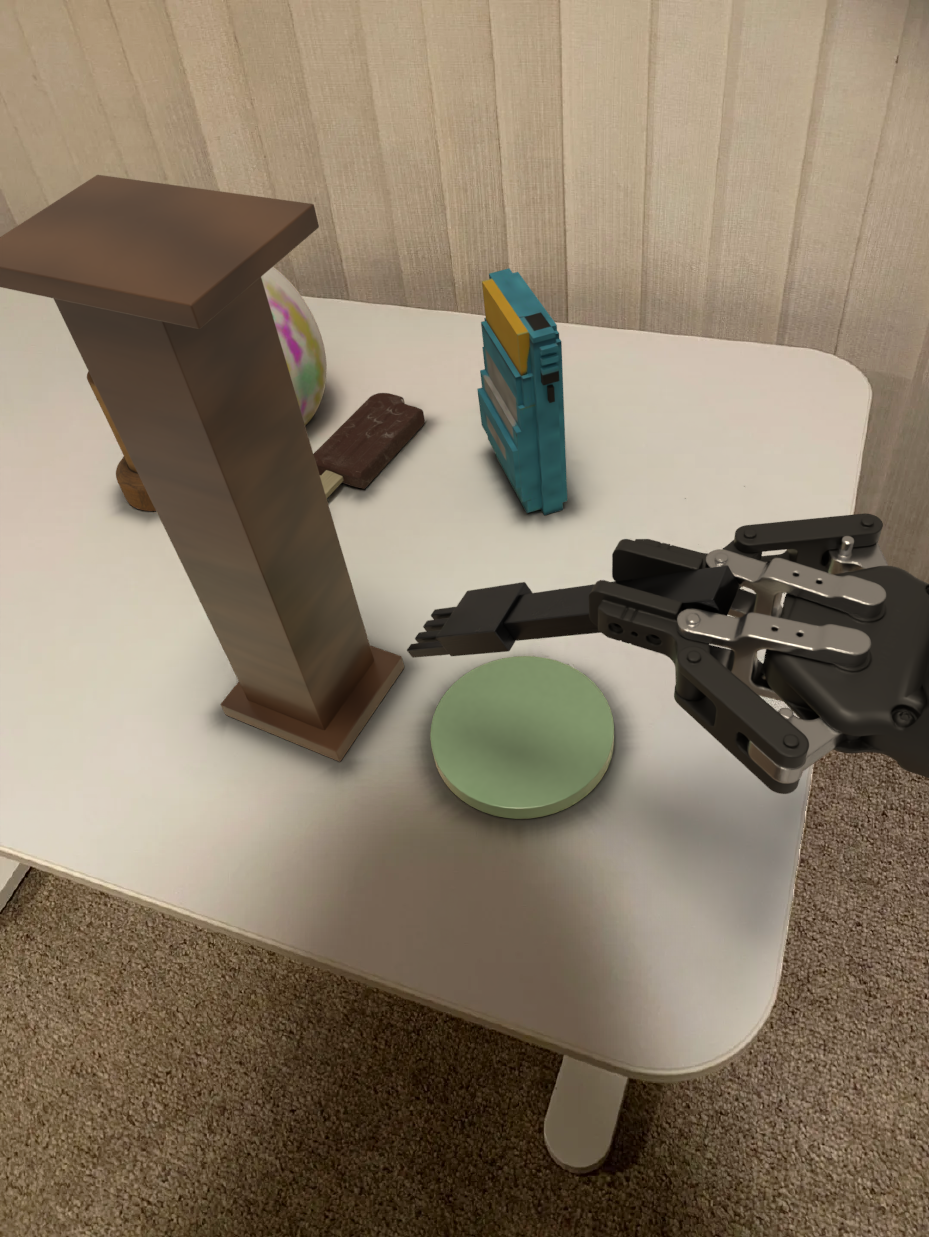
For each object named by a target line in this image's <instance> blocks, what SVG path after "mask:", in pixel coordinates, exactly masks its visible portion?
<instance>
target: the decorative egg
mask: <svg viewBox="0 0 929 1237" xmlns="http://www.w3.org/2000/svg"><path fill="white" fill-rule="evenodd" d="M261 278H262V282H263V285H264V288H265V292H266V295H267V299H268V302H269V305H270V309H271V312H272V315H273V319H274V322H275V326H276V329H277V332H278V336H279V339H280V343H281V346H282V349H283V353H284V356H285V359H286V363H287V366H288V370H289V373H290V376H291V380H292V383H293V387H294V390H295V393H296V397H297V400H298V403H299V407H300V410H301V414H302V417H303V420H304V424H305V426H307V424H308V423H309V422H310V421H311V420H312V419H313V418H314V417H315V414H316V412H317V411H318V409H319V407H320V404H321V402H322V400H323V396H324V394H325V390H326V383H327V374H328V372H327V371H328V370H327V369H328V368H327V355H326V349H325V344H324V341H323V337H322V333H321V331H320V328H319V325H318V322H317V321H316V318H315V317H314V315H313V313H312V310H311V309H310V307H309V306H308V304H307V302H306V301H305V299H304V298H303V296H302V295H301V293H300V292H299V291H298V290H297V288H296V287H295V286H294V285H293V283H292V282H291V281H290V280H289V279H288V278H287V277H286V276H285V275H284V274H283V273H281V271H280V270H278V269H277V268H275V266H273V267H272V268H271V269H270V270H268V271H267V272H266V273H265V274H264V275H263V276H261Z"/></svg>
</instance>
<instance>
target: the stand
mask: <svg viewBox="0 0 929 1237" xmlns="http://www.w3.org/2000/svg"><path fill="white" fill-rule="evenodd" d="M319 227H320V225H319V221H318V216H317V212H316V208H315V205H314V204H313V203H308V202H302V201H295V200H287V199H280V198H272V197H264V196H257V195H250V194H242V193H235V192H228V191H222V190H213V189H207V188H198V187H192V186H184V185H177V184H169V183H161V182H153V181H148V180H141V179H140V180H139V179H133V178H124V177H117V176H111V175H110V176H109V175H102V174H96V175H95V176H93V177H91V178H90V179H88V180H86V181H85V182H84V183H81V184H80V185H79V186H78V187H76V188H74V189H73V190H71V191H70V192H68V193H66V194H65V195H63V196H62V197H60V198H59V199H57V200H55V201H54V202H52V203H51V204H48V206H46V207H45V208H43V209H42V210H39V212H37V213H35V214H34V215H32V216H31V217H29V218H28V219H26V220H24V221H23V222H21V223H20V224H18V225H16V226H15V227H14V228H12V229H11V230H9V231H7V232H5V233H4V234H3V235H1V236H0V288H3V289H7V290H11V291H16V292H21V293H25V294H31V295H35V296H40V297H44V298H45V297H46V298H50V299H53V301H54V303H55V305H56V307H57V309H58V312H59V313H60V315H61V318H62V319H63V321H64V324H65V325H66V328H67V330H68V332H69V334H70V337H71V338H72V340H73V343H74V344H75V347H76V348H77V350H78V353H79V354H80V356H81V359H82V360H83V363H84V365H85V367H86V369H87V372H88V371H89V373H90V375H91V377H92V379H93V381H94V383H95V385H96V388H97V390H98V392H99V394H100V396H101V398H102V400H103V402H104V404H105V406H106V408H107V410H108V412H109V414H110V416H111V419H112V421H113V423H114V425H115V427H116V429H117V431H118V433H119V435H120V437H121V439H122V441H123V443H124V445H125V447H126V450H127V452H128V454H129V456H130V458H131V460H132V462H133V464H134V466H135V468H136V470H137V472H138V474H139V476H140V478H141V481H142V483H143V485H144V487H145V489H146V491H147V493H148V495H149V497H150V499H151V501H152V503H153V505H154V507H155V509H156V511H155V512H156V514H157V516H158V518H159V520H160V522H161V524H162V526H163V528H164V530H165V532H166V534H167V536H168V538H169V540H170V542H171V545H172V546H173V549H174V550H175V553H176V555H177V557H178V559H179V561H180V563H181V565H182V567H183V570H184V572H185V574H186V575H187V578H188V580H189V582H190V584H191V586H192V588H193V590H194V592H195V594H196V596H197V598H198V600H199V603H200V604H201V607H202V609H203V611H204V613H205V615H206V617H207V620H208V621H209V623H210V625H211V627H212V629H213V632H214V633H215V636H216V637H217V640H218V641H219V644H220V646H221V648H222V650H223V652H224V654H225V656H226V659H227V661H228V662H229V665H230V666H231V669H232V670H233V671H232V672H234V675H235V677H236V679H237V681H238V682H236V684H235V685H234V686H233V688H232V689H231V690H230V692H228V693H227V695H226V697H225V698H224V699H223V700H222V701H221V703H220V707H221V709H222V711H223V713H224V715H225V716H228V717H230V718H232V719H234V720H237V721H240V722H242V723H245V724H247V725H249V726H252V727H254V728H257V729H259V730H261V731H264V732H266V733H269V734H271V735H274V736H276V737H279V738H281V739H283V740H286V741H288V742H291V743H293V744H296V745H298V746H301V747H303V748H305V749H308V750H310V751H312V752H314V753H318V754H320V755H323V756H325V757H327V758H330V759H331V760H335V761H337V762H342V760H343V759H344V757H345V756H346V754H347V752H348V751H349V750H350V749H351V747H352V745H353V744H354V743H355V741H356V739H357V738H358V737H359V735H360V734H361V732H362V730H363V729H364V727H365V726H366V725H367V723H368V722H369V721H370V719H371V718H372V716H373V714H374V713H375V712H376V710H377V708H378V707H379V706H380V704H381V703H382V701H383V700H384V698H385V697H386V695H387V694H388V692H389V691H390V689H391V688H392V687H393V685H394V684H395V682H396V681H397V679H398V678H399V676H401V673H402V672H403V671H404V669H405V663H404V660H403V656H402V655H400V654H396V653H393V652H390V651H387V650H384V649H382V648H379V647H376V646H373V645H371V644H370V641H369V637H368V634H367V631H366V627H365V624H364V621H363V620H364V619H363V617H362V614H361V610H360V607H359V604H358V601H357V597H356V594H355V590H354V587H353V584H352V580H351V576H350V573H349V570H348V566H347V563H346V560H345V556H344V553H343V550H342V546H341V542H340V539H339V535H338V533H337V529H336V526H335V523H334V522H335V521H334V519H333V516H332V512H331V508H330V504H329V502H328V498H326V495H325V492H324V488H323V485H322V481H321V478H320V476H321V475H319V471H318V468H317V464H316V461H315V458H314V451H313V447H312V445H311V441H310V437H309V434H308V431H307V427H306V425H305V424H304V420H303V417H302V414H301V410H300V407H299V403H298V400H297V397H296V393H295V390H294V387H293V383H292V380H291V376H290V373H289V370H288V366H287V363H286V359H285V356H284V353H283V349H282V346H281V343H280V339H279V336H278V332H277V329H276V326H275V322H274V319H273V315H272V312H271V309H270V305H269V302H268V299H267V295H266V292H265V288H264V285H263V282H262V278H261V276H263V275H264V274H265V273H266V272H267V271H268V270H270V269H271V268H272V267H275V266H276V265H277V264H278V263H279V262H280V261H281V260H283V259H284V258H285V257H286V256H287V255H289V254H290V253H291V252H292V251H294V250H295V249H296V248H297V247H298V246H299V245H300V244H302V242H304V241H305V240H306V239H308V238H309V237H310V236H311V235H312V234H313V233H314V232H316V231H317V230H318V229H319Z"/></svg>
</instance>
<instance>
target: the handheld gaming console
mask: <svg viewBox="0 0 929 1237" xmlns="http://www.w3.org/2000/svg"><path fill="white" fill-rule="evenodd" d="M481 288H482V296H483V298H482V299H483V304H484V316H485V317H484V320H483V321H481V322H480V326H481V335H482V345H483V346H482V356H483V365H484V366H483V367H484V368H483V369H480V370H479V372H480V373H479V374H480V383H481V387H479V388H477V390H476V391H477V397H478V407H479V414H480V424H481V427H482V429H483V430H484V432H485V435H486V436H487V440H488V442H489V444H490V446H491V448H492V449H493V451H494V454H495V455H494V456H495V458H496V459H497V461H498V463H499V465H500V467H501V468H502V470H503V472H504V474H505V476H506V478H507V480H508V481H509V484H510V485H511V487H512V489H513V491H514V493H515V494H516V497H517V498H518V500H519V502H520V504H521V506H522V507H523V509H524V512H525V513H526V514H530V513H533V512H536V511H539V510H540V511H541V513H542V514H543V516H547V515H550V514H554V513H557V512H560V511H563V510H564V503H567V502H568V479H567V478H568V477H567V476H568V475H567V453H566V450H567V449H566V429H565V428H566V426H565V400H564V398H565V397H564V375H563V374H564V373H563V372H564V371H563V346H562V345H563V344H562V343H563V342H562V340H561V339H560V332H559V331H558V324H557V323H556V322H555V320H554V319H553V317H552V316H551V315H550V313H549V312H548V311H547V309H546V308H545V307H544V305H543V304H542V303H541V301H540V300H539V299H538V297H537V296H536V294H535V293H534V292H533V290H532V289H531V287H530V286H529V285H528V283H527V281H525V280H524V278H523V276H522V275H521V273H519V271H516V272H512V270H511V268H510V267H509V268H508V267H507V268H505V269H501V270H498V271H493V272H490V273H488V278H487V279H485V280H481Z"/></svg>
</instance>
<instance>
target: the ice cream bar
mask: <svg viewBox="0 0 929 1237" xmlns="http://www.w3.org/2000/svg"><path fill="white" fill-rule="evenodd" d="M425 422H426V420H425V414H424V410H423V409H421V408H419V407H416V406H414V405H410V404H406V403H405V398H404V397H403V396H400V395H397V394H393V393H389V392H378V393H375V394H372V395H371V396H370V397H368V398H367V400H365V402H363V403H362V404H361V405H360V406H359V408H357V409H356V410H355V412H353V414H352V415H350V416H349V417H348V418H347V419H346V420H345V422H344V423H343V424H341V425H340V427H338V429H336V430H335V432H334V433H333V434H332V435H331V436H329V437H328V438H327V440H326V441H324V443H322V444H321V445H320V447H318V448H317V449H316V450H315V451H314V452H313V454H314V458H315V461H316V464H317V468H318V471H319V475H320V478H321V481H322V485H323V488H324V492H325V495H326V498H327V499H328V498H329V497H330V496H331V495H332V494H333V493H334V491H336V489H338V487H339V486H341V484H342V483H343V484H345V485H348V486H351V487H354V488H359V489H363V490H365V489H366V488H367V487H368V486H369V485H370V484H371V483H372V482H373V480H374V479H375V478H376V477H377V476H378V475H379V474H380V473H381V472H382V471H383V469H385V468H386V466H387V465H388V464H389V463H390V462H391V461H392V460H393V459H394V457H395V456H396V455H397V454H398V453H399V452H400V451H401V450H402V448H404V447H405V446H406V445H407V444H408V442H410V440H411V439H412V438H413V437H414V436H415V435H416V434H417V432H419V431H420V430H421V429H422V428H423V426H424V424H425Z"/></svg>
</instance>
